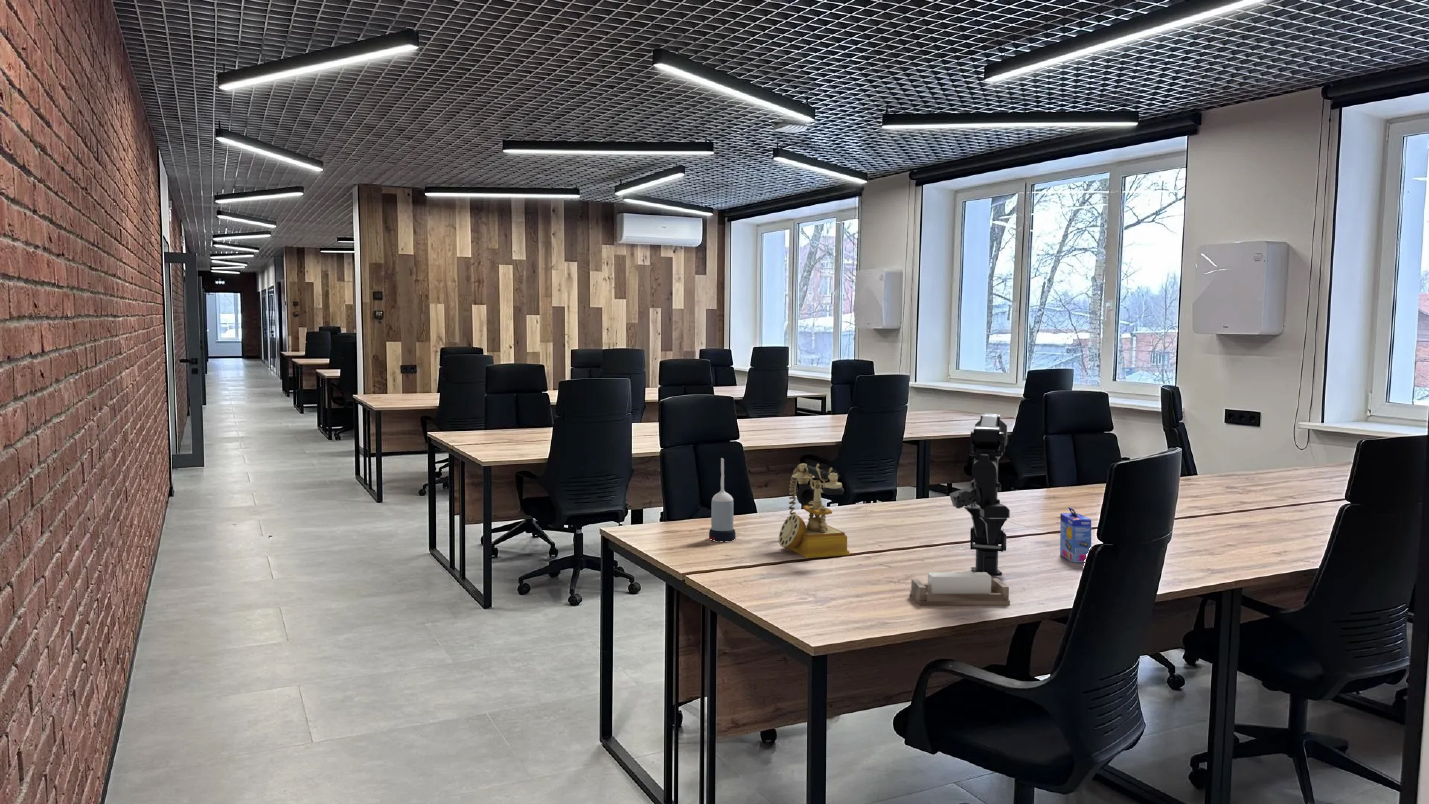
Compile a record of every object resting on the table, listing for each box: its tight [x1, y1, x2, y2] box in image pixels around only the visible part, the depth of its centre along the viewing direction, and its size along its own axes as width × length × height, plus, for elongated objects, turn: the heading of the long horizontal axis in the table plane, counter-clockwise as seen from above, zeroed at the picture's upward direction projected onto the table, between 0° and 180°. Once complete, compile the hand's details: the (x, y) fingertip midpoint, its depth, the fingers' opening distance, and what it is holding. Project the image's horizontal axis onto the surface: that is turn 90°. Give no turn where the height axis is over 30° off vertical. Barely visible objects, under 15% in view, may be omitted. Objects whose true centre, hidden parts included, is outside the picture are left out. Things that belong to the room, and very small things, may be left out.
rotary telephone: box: [778, 462, 850, 559], centre depth 284 cm, size 35×18×25 cm, turn 19°
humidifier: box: [708, 457, 737, 543], centre depth 296 cm, size 8×8×25 cm
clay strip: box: [927, 571, 992, 594], centre depth 230 cm, size 4×14×5 cm, turn 92°
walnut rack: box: [909, 577, 1011, 606], centre depth 230 cm, size 10×21×4 cm, turn 92°
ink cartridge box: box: [1059, 506, 1092, 564], centre depth 272 cm, size 10×6×14 cm, turn 2°
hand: (984, 540), depth 239 cm, fingers open, 9 cm apart
